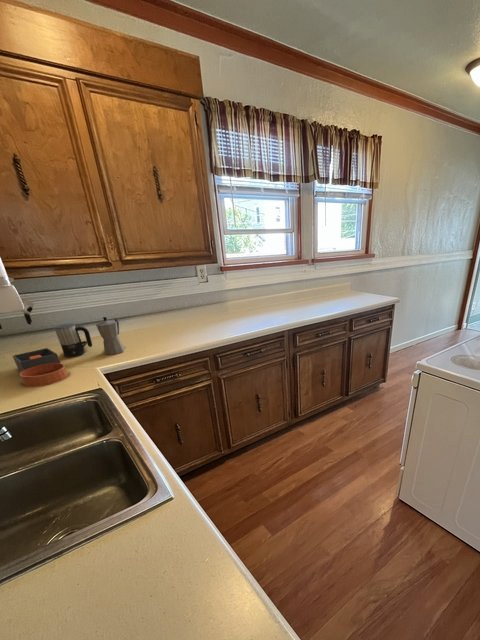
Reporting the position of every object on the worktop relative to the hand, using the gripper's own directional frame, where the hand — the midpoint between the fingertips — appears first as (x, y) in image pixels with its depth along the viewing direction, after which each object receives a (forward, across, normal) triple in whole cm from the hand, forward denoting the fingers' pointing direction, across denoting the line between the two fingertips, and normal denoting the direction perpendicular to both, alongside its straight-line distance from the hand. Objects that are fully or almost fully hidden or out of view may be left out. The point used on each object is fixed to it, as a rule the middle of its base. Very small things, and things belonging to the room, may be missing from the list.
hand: (15, 326), depth 134 cm
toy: (+20, -3, -2) cm, 21 cm away
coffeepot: (+21, -36, -2) cm, 42 cm away
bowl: (+21, -1, +14) cm, 25 cm away
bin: (+21, -3, -2) cm, 21 cm away
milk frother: (+21, -23, -18) cm, 36 cm away
